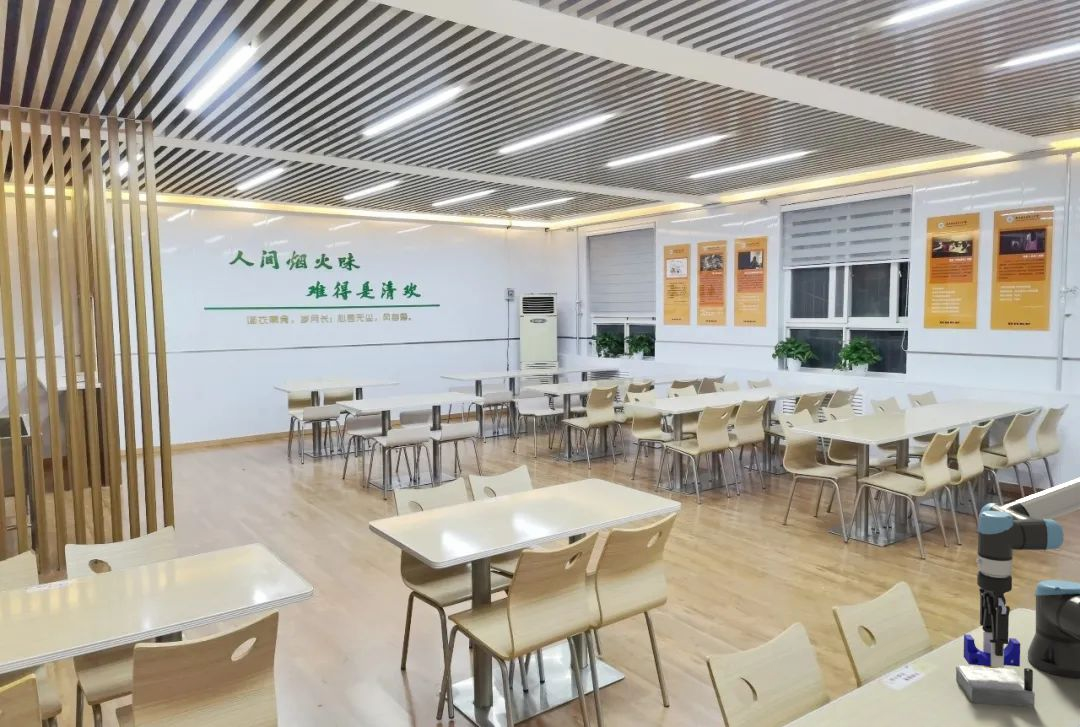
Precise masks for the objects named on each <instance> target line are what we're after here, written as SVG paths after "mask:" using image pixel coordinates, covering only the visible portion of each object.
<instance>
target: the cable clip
mask: <svg viewBox="0 0 1080 727" xmlns="http://www.w3.org/2000/svg"><path fill="white" fill-rule="evenodd" d="M975 643H976V642H975V639H974V638H973V636H972V635H971V634H967V633H965V634H963V658H964V659H965V661H966V663H968V666H979V667H983V666H991V653H985V652H983V650H981V649H978V648H977V647H976V644H975ZM1004 666H1009V667H1020V666H1021V643H1020V642H1019V640H1018V639H1017V638H1013V637H1008V644H1006V645H1005V646H1004Z"/></svg>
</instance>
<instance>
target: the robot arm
mask: <svg viewBox="0 0 1080 727" xmlns="http://www.w3.org/2000/svg"><path fill="white" fill-rule="evenodd" d="M1078 510H1080V476H1079V477H1077V478H1074V479H1071V480H1069V481H1066V482H1063V483H1060V484H1058V485H1054V486H1052V487H1049V488H1047V489H1044V490H1041V491H1039V492H1036V493H1033V494H1030V495H1028V496H1025V497H1022V498H1018V499H1017V500H1014V501H1011V502H1008V503H1005V504H1001V503H997V502H996V503H995V502H990V503H987V504H985V505H984V506H983V507H982V508H981V510H980V512H979V515H978V520H977V522H978V523H977V528H976V529H977V530H976V531H977V558H976V559H975V563H977V570H978V571H977V574H976V575H977V576H976V577H977V578H976V579H977V580H976V581H977V582H976V583H977V586H978V588H979V596H980V599H979V602H980V603H979V625H980V626H982V631H983V632H982V633H983V635H982V636H983V641H982V642H983V644H982V645H983V646H982V652H985V653H991V667H998V668H1000V669H1005V668H1004V667H1005V665H1004V648H1005V645H1008V642H1009V626H1010V624H1009V622H1010V621H1009V620H1010V612H1011V608H1010V606H1008V605H1006V604H1007V602H1006V597H1005V595H1004V594H1005V593H1009V592H1011V591H1012V588H1013V577H1012V575H1013V565H1014V564H1013V560H1014V559H1013V554H1014V552H1013V551H1048V550H1056V549H1059V548H1061V547H1062V545H1063V543H1064V540H1065V539H1064V536H1065V535H1064V530H1063V528H1062V526H1061V525H1060V523H1059V522H1058V521H1056V520H1054V519H1056V518H1058V517H1062V516H1064V515H1067V514H1071V513H1072V512H1076V511H1078ZM1035 588H1036V589H1035V594H1034V596H1035V633H1034V635H1033V637H1032V640H1031V641H1030V644H1029V647H1028V648H1027V661H1028V662H1029V663H1030V664H1031V665H1032V666H1033V667H1035V668H1037V669H1038V670H1041V671H1043V672H1046V673H1049V674H1052V675H1054V676H1055V675H1056V676H1059V677H1066V678H1071V679H1072V678H1074V679H1080V583H1079V582H1076V581H1075V582H1074V581H1069V580H1059V579H1058V580H1055V579H1053V580H1052V579H1051V580H1043V581H1039V582H1038V583H1037V584H1036V587H1035Z"/></svg>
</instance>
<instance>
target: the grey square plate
mask: <svg viewBox="0 0 1080 727" xmlns="http://www.w3.org/2000/svg"><path fill="white" fill-rule="evenodd" d="M955 680H956V681H957V683H958V684H959V686H960V687H961V688H962V690H963V691H964V693H965V694H966V696H967V698H968V699H969V700H970V702H971V703H974V704H983V705H984V704H987V705H998V706H1013V707H1021V708H1022V707H1025V708H1035V704H1036V703H1035V702H1036V699H1035V696H1036V695H1035V692H1034V691H1033V689H1034V688H1033V687H1034V681H1033V680H1034V671H1033V669H1032V668H1028V667H1027V668H1026V667H1025V668H1024V669H1023V677H1022V676H1020V674H1019V673H1018V672H1017V671H1016V670H1015V669H1013V668H1010V669H1009V668H1000V667H998V668H986V667H983V666H973V665H956V666H955Z"/></svg>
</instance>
